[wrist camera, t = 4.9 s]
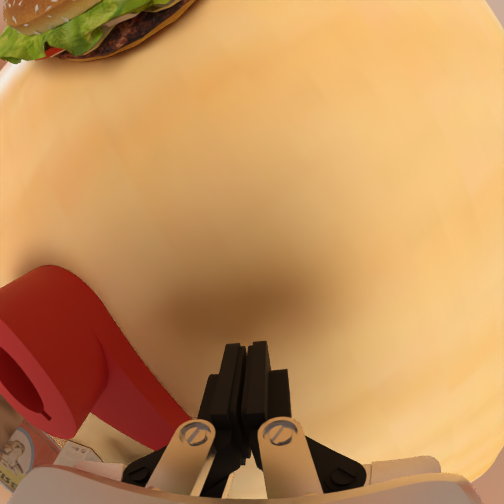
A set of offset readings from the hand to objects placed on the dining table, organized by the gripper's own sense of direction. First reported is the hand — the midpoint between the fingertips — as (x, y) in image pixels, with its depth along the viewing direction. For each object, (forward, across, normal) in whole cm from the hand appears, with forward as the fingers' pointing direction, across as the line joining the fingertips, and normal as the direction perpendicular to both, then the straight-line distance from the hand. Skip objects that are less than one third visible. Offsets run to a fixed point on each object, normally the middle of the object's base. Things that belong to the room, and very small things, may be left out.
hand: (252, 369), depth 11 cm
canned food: (+4, +35, +19) cm, 40 cm away
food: (+4, +5, -22) cm, 23 cm away
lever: (+4, +11, +3) cm, 12 cm away
